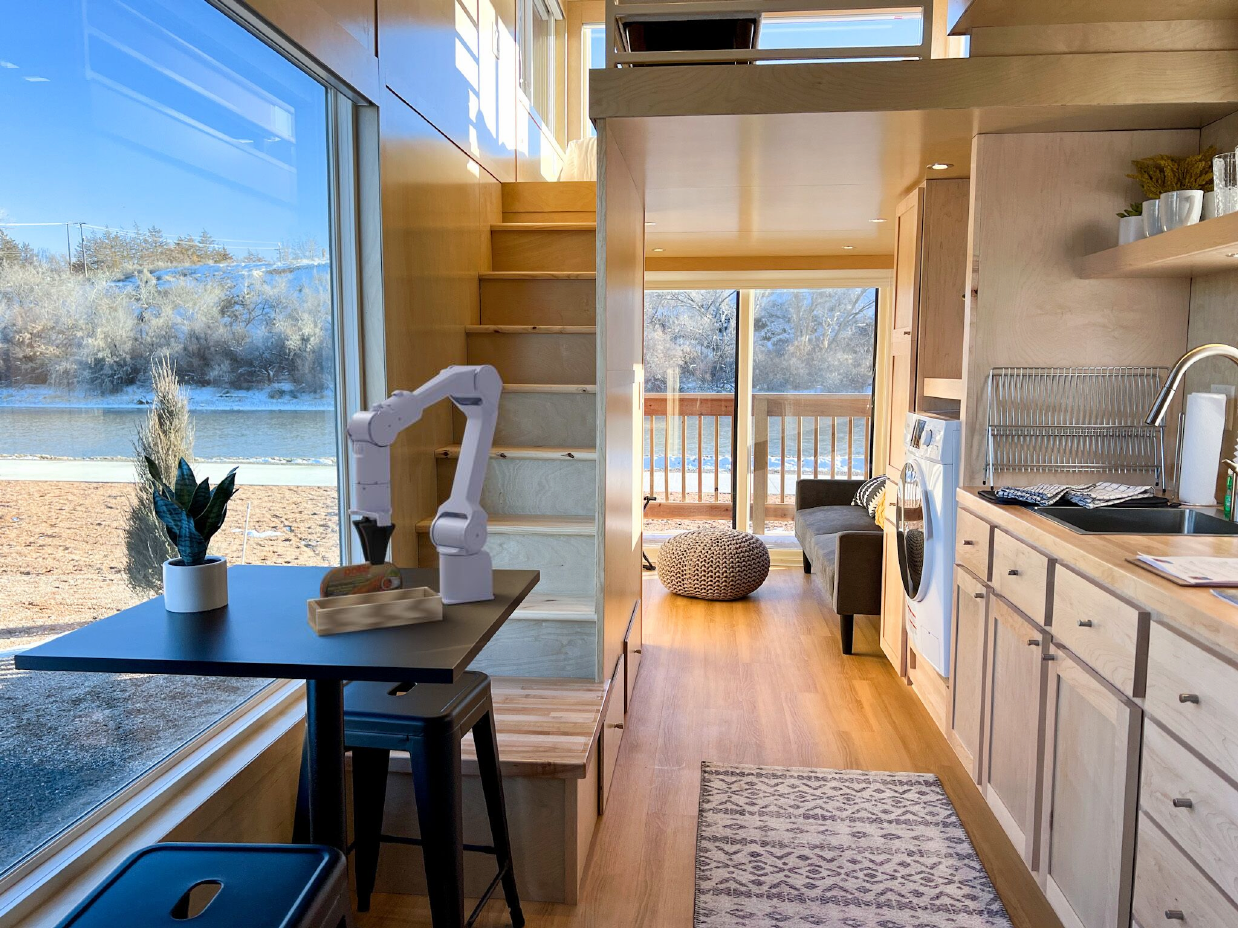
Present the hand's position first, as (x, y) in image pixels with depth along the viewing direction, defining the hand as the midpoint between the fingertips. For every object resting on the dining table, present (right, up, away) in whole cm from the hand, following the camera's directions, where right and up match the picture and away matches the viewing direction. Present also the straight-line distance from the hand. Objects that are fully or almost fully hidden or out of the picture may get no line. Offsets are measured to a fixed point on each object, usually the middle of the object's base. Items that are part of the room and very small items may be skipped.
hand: (374, 562), depth 151 cm
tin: (-5, -10, +10) cm, 14 cm away
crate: (0, -10, +1) cm, 10 cm away
